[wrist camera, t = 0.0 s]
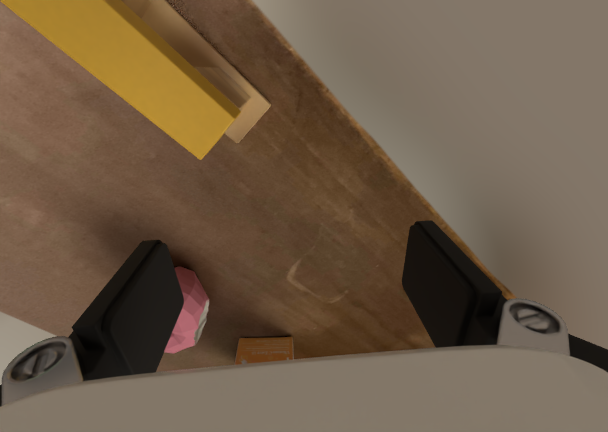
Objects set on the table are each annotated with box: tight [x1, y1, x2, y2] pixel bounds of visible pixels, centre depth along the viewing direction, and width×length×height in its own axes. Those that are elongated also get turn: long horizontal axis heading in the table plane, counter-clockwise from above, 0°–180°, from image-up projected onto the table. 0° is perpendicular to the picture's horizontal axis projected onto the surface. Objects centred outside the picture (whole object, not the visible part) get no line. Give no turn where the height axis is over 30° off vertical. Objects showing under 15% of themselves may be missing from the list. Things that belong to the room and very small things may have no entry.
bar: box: [0, 0, 241, 160], centre depth 16 cm, size 14×3×3 cm, turn 46°
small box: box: [234, 337, 293, 365], centre depth 38 cm, size 8×6×13 cm
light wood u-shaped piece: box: [121, 0, 271, 144], centre depth 21 cm, size 17×5×9 cm, turn 46°
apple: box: [164, 266, 209, 353], centre depth 32 cm, size 10×9×10 cm
